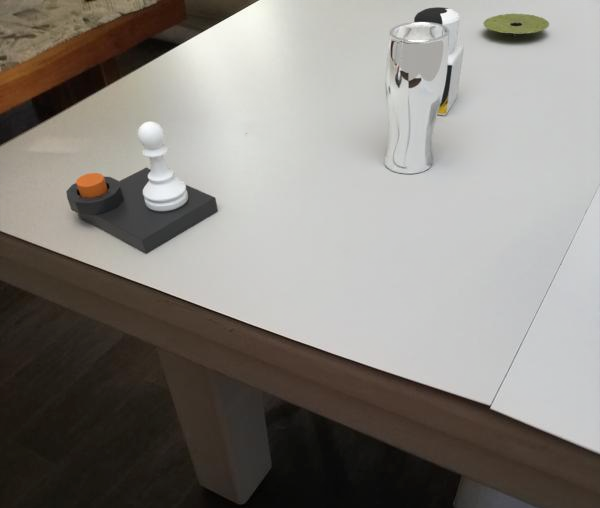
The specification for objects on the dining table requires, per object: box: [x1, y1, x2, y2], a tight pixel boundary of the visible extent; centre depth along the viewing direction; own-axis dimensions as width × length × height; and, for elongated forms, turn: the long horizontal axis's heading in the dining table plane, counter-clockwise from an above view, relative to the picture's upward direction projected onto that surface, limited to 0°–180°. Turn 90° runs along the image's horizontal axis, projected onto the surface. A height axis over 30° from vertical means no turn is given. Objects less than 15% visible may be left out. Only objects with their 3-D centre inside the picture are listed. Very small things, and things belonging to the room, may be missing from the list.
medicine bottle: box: [413, 6, 465, 117], centre depth 83 cm, size 7×7×12 cm
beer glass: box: [384, 21, 450, 175], centre depth 70 cm, size 7×7×15 cm
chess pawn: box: [137, 120, 188, 211], centre depth 65 cm, size 5×5×9 cm
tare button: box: [75, 172, 108, 197], centre depth 68 cm, size 3×3×2 cm
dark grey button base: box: [66, 167, 219, 255], centre depth 69 cm, size 14×12×4 cm
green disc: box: [482, 13, 550, 35], centre depth 105 cm, size 11×11×2 cm
